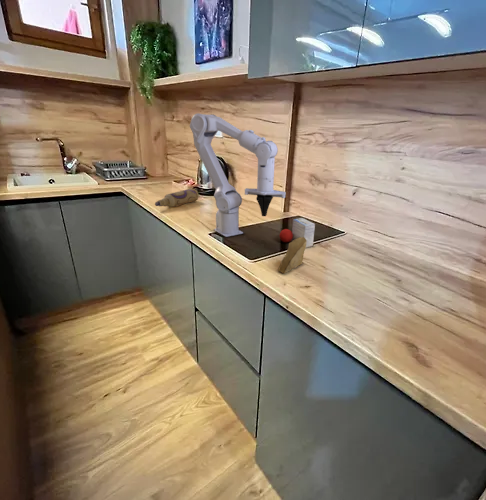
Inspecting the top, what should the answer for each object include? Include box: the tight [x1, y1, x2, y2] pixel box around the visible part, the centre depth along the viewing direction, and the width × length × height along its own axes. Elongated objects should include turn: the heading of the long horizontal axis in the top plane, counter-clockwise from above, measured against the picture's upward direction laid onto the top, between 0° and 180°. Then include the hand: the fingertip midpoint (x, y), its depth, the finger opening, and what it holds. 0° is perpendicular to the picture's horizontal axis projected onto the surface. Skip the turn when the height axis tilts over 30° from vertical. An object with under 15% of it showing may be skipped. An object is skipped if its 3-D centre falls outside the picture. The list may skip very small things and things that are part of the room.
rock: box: [277, 237, 307, 274], centre depth 93 cm, size 11×9×10 cm
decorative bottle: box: [154, 188, 200, 208], centre depth 152 cm, size 26×8×7 cm, turn 149°
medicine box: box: [291, 217, 316, 248], centre depth 111 cm, size 8×4×9 cm, turn 29°
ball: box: [279, 228, 293, 243], centre depth 112 cm, size 5×5×5 cm
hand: (264, 215), depth 111 cm, fingers closed
